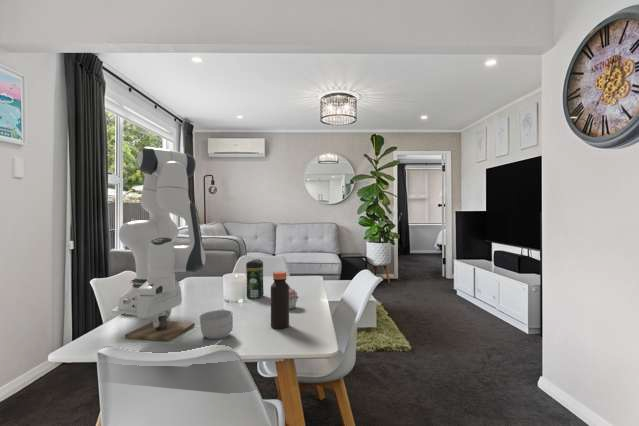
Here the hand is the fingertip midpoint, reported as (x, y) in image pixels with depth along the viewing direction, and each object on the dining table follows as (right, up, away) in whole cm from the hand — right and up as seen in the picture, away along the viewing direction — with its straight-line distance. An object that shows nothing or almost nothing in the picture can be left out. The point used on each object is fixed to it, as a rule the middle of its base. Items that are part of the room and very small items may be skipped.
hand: (161, 324), depth 127 cm
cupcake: (+41, -3, +34) cm, 54 cm away
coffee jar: (+23, -3, +55) cm, 59 cm away
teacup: (+20, -4, -2) cm, 21 cm away
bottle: (+41, -3, +8) cm, 41 cm away
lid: (0, -2, 0) cm, 2 cm away
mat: (0, -3, 0) cm, 3 cm away
